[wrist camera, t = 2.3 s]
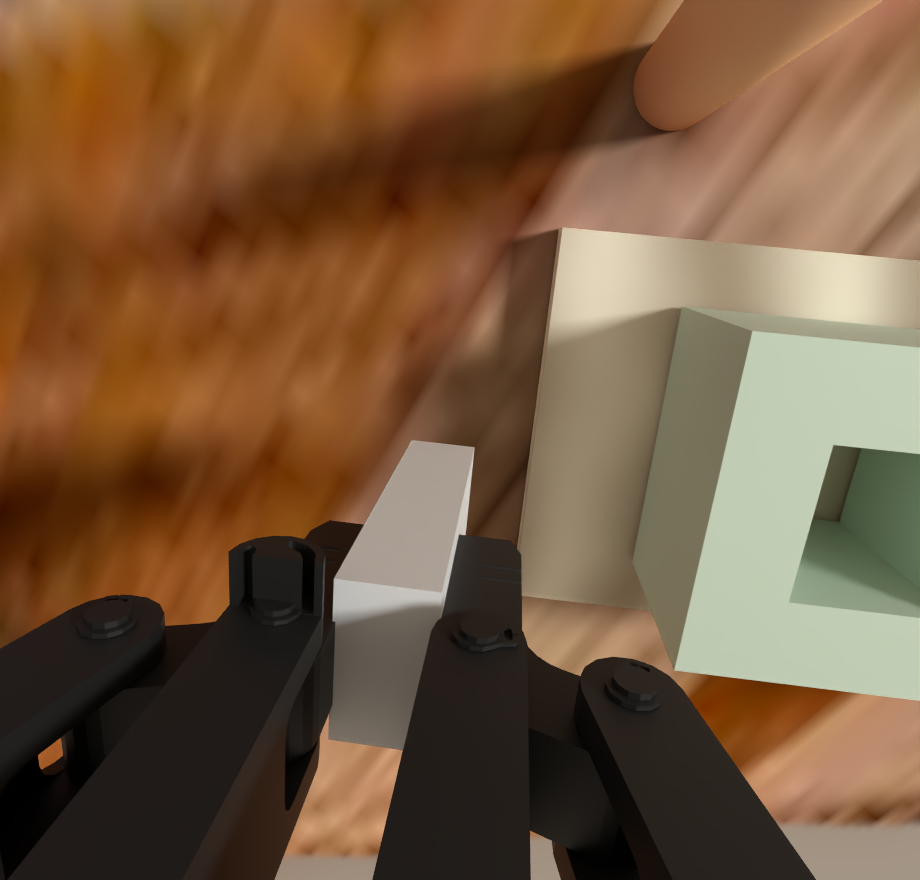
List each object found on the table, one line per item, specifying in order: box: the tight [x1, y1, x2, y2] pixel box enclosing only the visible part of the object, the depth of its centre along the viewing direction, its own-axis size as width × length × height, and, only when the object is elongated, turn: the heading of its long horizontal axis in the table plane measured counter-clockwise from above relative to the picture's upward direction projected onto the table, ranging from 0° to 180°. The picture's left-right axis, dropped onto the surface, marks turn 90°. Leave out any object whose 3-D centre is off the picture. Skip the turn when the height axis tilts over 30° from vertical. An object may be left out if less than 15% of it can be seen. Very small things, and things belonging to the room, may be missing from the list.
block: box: [632, 306, 920, 701], centre depth 18 cm, size 9×9×6 cm
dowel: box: [633, 0, 883, 131], centre depth 14 cm, size 3×3×12 cm
